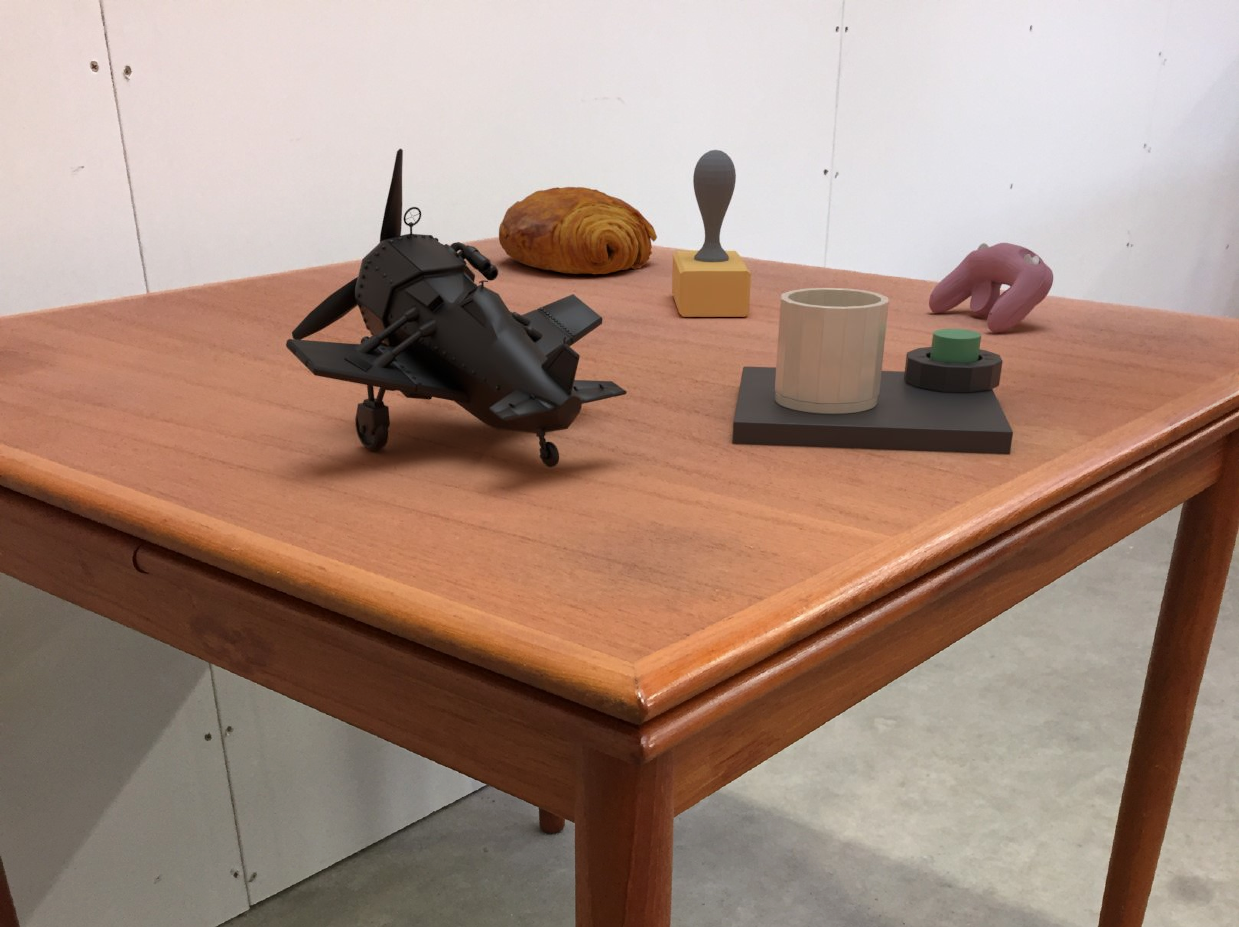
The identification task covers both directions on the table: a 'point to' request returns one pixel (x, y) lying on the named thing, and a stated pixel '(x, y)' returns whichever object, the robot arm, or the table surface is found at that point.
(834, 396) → the cup
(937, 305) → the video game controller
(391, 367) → the airplane toy
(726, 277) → the rubber stamp
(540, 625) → the table surface
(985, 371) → the scale
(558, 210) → the croissant
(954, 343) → the tare button
